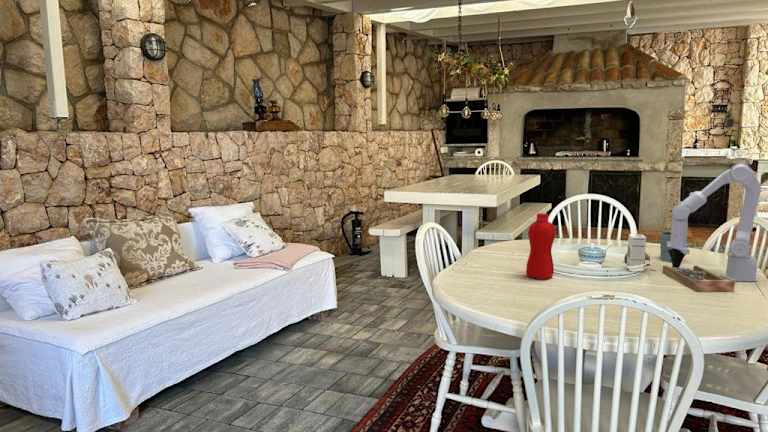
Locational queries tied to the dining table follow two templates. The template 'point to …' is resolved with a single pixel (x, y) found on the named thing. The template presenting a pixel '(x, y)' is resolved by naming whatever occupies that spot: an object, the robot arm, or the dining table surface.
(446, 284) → the dining table surface
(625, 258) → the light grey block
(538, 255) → the water bottle
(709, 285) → the bay
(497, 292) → the dining table surface
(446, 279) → the dining table surface
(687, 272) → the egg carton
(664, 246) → the grey cup
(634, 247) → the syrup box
